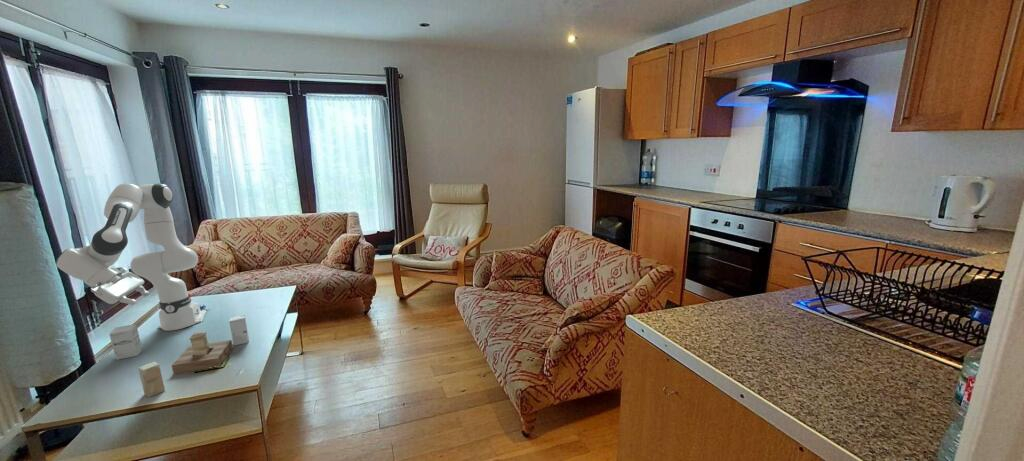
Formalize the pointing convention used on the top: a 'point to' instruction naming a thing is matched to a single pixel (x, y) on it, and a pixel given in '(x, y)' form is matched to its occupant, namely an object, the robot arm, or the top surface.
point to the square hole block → (202, 358)
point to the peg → (199, 344)
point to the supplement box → (125, 341)
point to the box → (151, 379)
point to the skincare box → (239, 330)
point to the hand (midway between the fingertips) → (141, 299)
